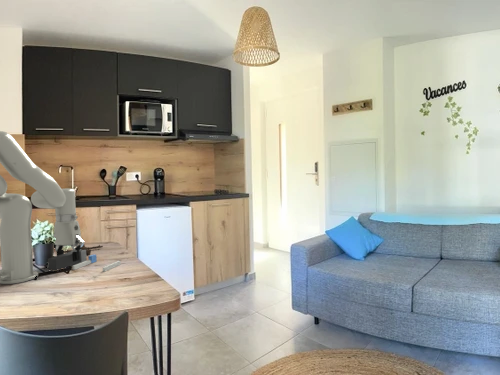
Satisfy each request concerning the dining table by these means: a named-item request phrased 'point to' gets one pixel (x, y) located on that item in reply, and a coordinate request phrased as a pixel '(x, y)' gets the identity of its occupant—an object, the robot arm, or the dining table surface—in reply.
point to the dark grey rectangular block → (65, 260)
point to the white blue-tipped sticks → (93, 259)
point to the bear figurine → (85, 249)
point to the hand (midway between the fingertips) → (68, 259)
